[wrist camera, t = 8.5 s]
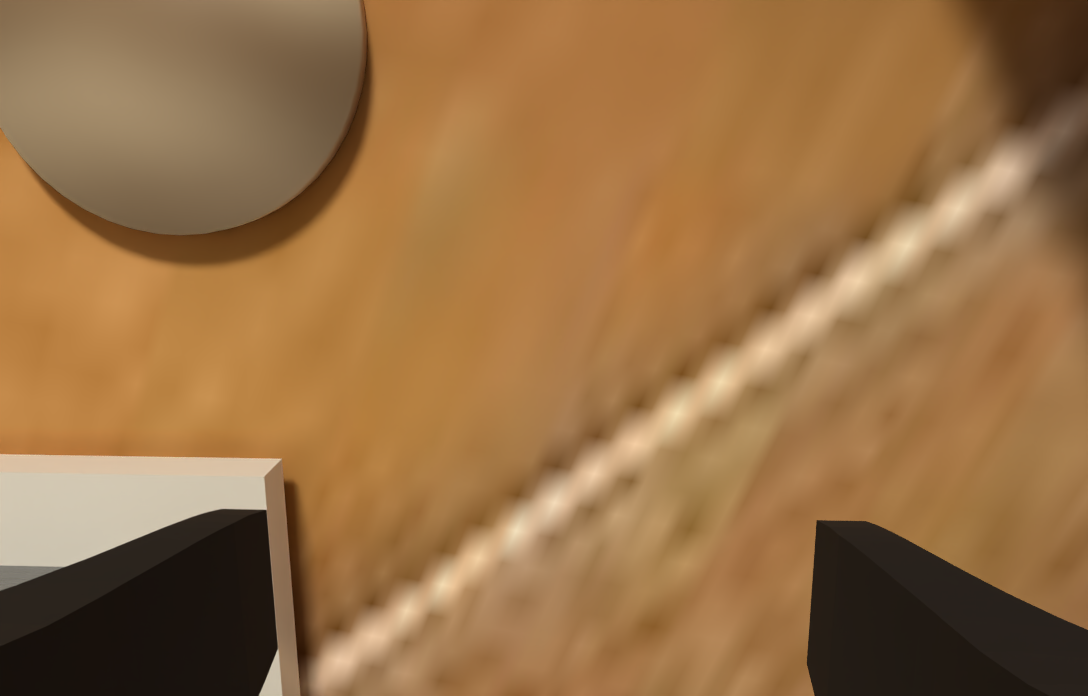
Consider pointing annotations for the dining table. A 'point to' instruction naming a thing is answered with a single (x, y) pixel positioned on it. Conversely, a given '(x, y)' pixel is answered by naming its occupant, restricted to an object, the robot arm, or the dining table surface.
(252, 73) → the metal coaster
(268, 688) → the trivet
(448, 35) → the dining table surface
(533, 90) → the dining table surface
